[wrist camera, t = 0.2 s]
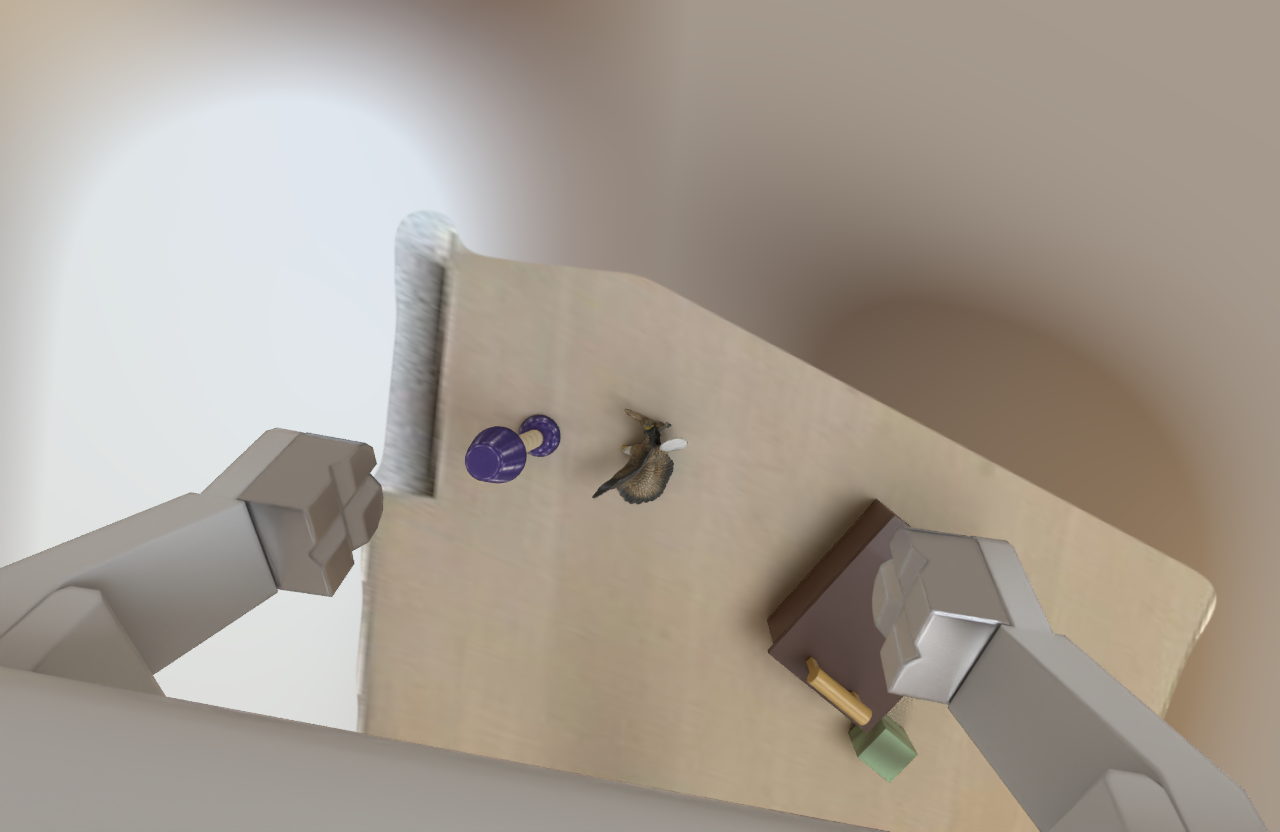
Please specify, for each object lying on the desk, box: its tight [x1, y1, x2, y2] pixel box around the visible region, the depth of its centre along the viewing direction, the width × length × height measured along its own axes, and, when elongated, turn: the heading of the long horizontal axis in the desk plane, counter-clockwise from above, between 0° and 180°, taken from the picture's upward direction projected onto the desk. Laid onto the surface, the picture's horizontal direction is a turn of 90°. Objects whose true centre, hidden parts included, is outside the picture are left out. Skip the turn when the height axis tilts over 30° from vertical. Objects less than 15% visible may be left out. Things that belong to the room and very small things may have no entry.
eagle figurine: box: [592, 409, 688, 504], centre depth 62 cm, size 8×7×9 cm
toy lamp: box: [465, 415, 560, 483], centre depth 57 cm, size 5×5×17 cm
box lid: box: [768, 514, 909, 733], centre depth 57 cm, size 17×12×4 cm
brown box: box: [767, 499, 912, 644], centre depth 62 cm, size 16×12×5 cm
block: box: [848, 715, 917, 783], centre depth 64 cm, size 4×4×4 cm
